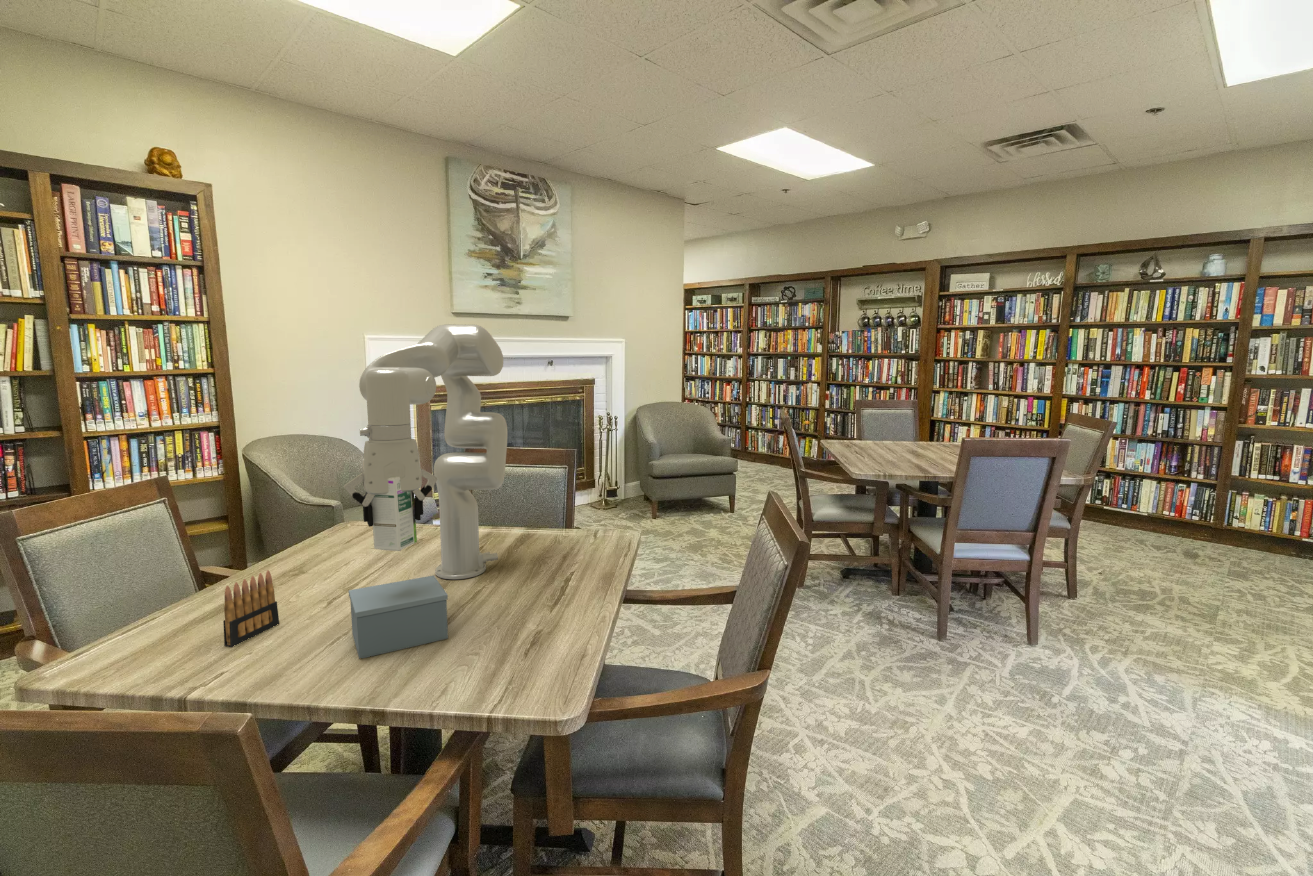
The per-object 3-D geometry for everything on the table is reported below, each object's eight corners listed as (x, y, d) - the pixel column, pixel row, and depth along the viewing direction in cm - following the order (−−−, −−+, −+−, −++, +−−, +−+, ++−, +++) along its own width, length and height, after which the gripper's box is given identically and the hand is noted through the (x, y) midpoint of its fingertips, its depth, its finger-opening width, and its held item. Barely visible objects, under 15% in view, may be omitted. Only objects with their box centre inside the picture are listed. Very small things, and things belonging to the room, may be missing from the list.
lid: (433, 579, 128) (433, 575, 128) (447, 599, 118) (447, 594, 118) (348, 595, 119) (348, 590, 119) (355, 618, 109) (355, 612, 109)
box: (434, 616, 129) (433, 581, 128) (447, 638, 119) (446, 600, 118) (352, 633, 120) (350, 596, 119) (359, 659, 110) (356, 618, 109)
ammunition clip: (272, 623, 125) (268, 568, 123) (279, 624, 125) (275, 569, 123) (224, 646, 115) (218, 586, 113) (231, 647, 114) (226, 587, 113)
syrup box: (399, 551, 114) (396, 477, 112) (372, 549, 115) (368, 475, 113) (417, 542, 119) (414, 471, 117) (391, 540, 120) (387, 470, 119)
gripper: (340, 438, 106) (346, 533, 109) (441, 433, 116) (444, 520, 118) (337, 433, 113) (342, 523, 115) (433, 429, 122) (436, 512, 124)
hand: (394, 521), depth 116 cm, fingers closed on syrup box, 8 cm apart
